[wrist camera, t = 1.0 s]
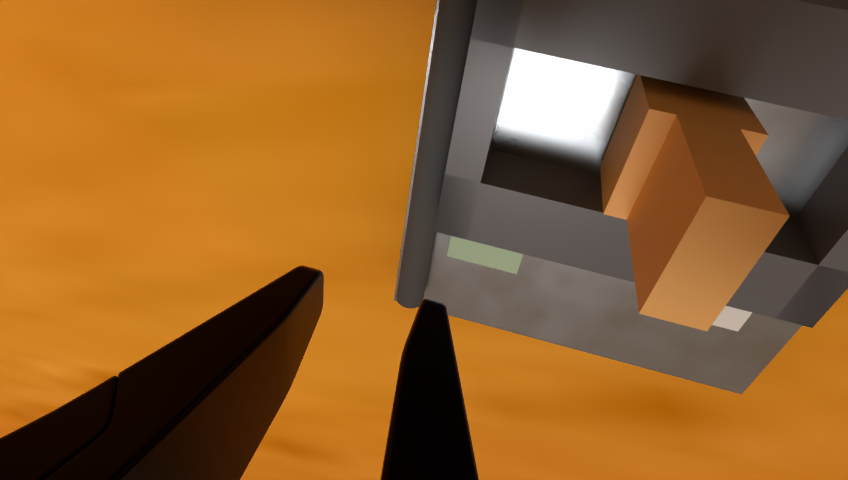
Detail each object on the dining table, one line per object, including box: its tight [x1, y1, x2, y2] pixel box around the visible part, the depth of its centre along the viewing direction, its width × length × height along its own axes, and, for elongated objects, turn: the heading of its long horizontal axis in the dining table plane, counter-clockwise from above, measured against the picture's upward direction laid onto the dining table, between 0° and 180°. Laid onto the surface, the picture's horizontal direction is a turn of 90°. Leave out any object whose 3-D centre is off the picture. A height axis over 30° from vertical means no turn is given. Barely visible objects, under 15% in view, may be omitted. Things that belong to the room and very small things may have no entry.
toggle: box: [600, 75, 790, 331], centre depth 14 cm, size 3×3×7 cm
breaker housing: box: [434, 0, 848, 331], centre depth 17 cm, size 13×12×2 cm
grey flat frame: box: [396, 0, 477, 308], centre depth 16 cm, size 15×20×1 cm
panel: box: [394, 0, 848, 394], centre depth 17 cm, size 16×22×1 cm
